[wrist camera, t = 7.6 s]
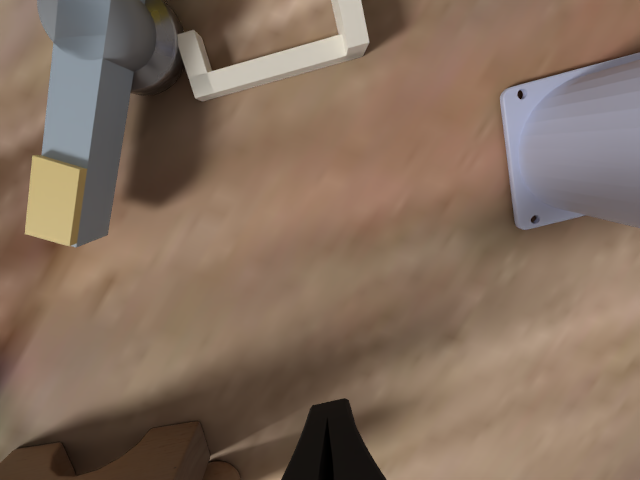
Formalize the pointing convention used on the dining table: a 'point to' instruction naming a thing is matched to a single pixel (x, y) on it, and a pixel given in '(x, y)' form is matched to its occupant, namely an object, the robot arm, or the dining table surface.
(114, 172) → the lever
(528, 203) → the robot arm
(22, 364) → the dining table surface
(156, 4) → the base
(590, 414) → the dining table surface
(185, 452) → the wooden toy
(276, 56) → the cream l-shaped bracket
